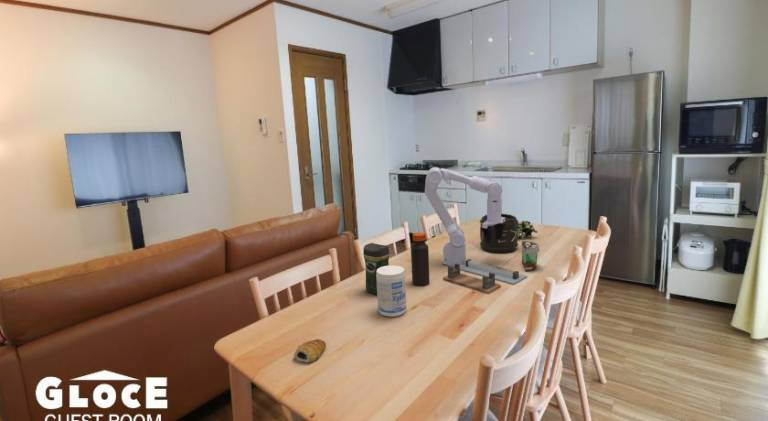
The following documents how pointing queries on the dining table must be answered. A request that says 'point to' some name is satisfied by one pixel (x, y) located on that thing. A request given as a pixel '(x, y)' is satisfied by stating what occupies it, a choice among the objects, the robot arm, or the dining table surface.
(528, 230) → the green leafy bush
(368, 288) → the coffee jar
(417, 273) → the vinegar
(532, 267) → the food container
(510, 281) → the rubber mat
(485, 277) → the wooden stand
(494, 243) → the wooden barrel
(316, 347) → the pastry
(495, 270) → the steel rail
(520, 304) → the dining table surface
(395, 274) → the supplement tub
